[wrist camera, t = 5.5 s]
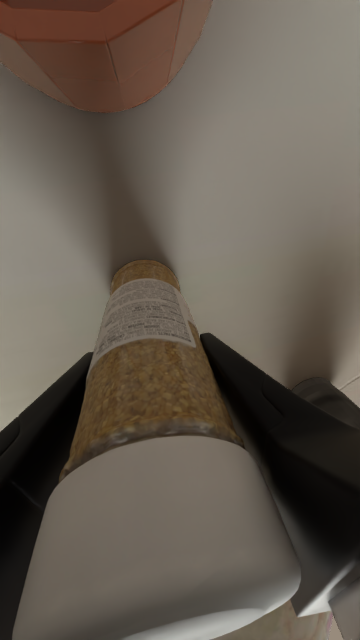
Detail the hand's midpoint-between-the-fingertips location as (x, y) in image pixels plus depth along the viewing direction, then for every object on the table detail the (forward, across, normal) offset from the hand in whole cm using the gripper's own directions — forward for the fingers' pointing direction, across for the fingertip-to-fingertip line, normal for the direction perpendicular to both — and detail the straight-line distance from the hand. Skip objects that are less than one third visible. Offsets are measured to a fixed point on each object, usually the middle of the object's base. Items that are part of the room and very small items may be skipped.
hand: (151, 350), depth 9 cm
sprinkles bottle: (+6, 0, 0) cm, 7 cm away
